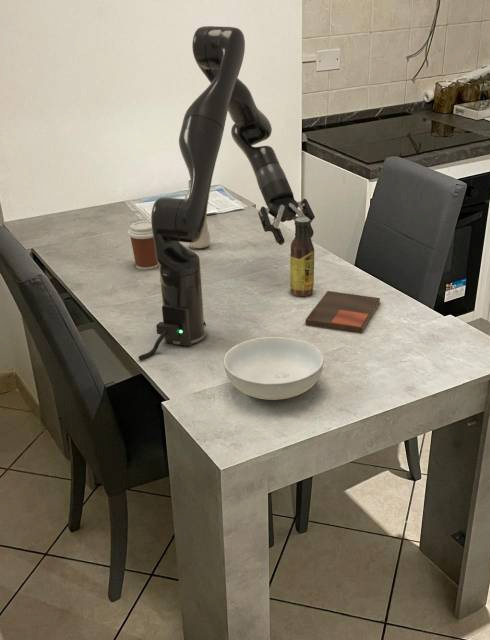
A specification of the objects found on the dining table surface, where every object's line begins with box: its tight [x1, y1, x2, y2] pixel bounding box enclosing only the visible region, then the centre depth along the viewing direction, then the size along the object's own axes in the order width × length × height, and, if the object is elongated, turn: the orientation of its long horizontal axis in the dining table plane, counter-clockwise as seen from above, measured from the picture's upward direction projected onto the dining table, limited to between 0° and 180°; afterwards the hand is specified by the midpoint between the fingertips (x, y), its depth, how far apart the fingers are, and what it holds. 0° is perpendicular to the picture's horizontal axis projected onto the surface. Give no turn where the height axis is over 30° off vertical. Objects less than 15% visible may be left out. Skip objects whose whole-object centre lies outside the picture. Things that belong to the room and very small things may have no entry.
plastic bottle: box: [184, 180, 211, 249], centre depth 236 cm, size 6×7×20 cm
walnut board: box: [305, 290, 381, 334], centre depth 200 cm, size 18×14×2 cm
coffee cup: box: [126, 220, 159, 271], centre depth 226 cm, size 9×9×12 cm
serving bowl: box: [223, 336, 325, 401], centre depth 168 cm, size 21×21×7 cm
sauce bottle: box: [289, 217, 315, 297], centre depth 206 cm, size 6×6×20 cm
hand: (296, 240), depth 206 cm, fingers open, 8 cm apart
